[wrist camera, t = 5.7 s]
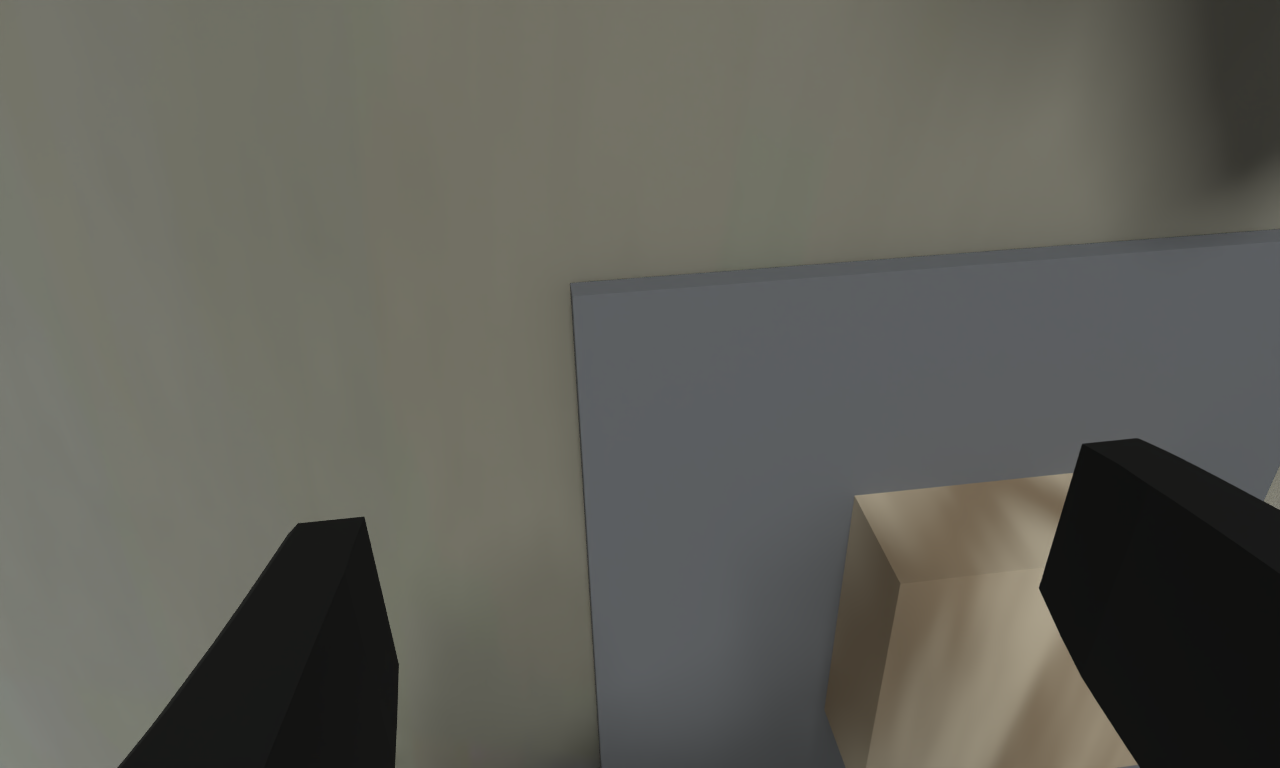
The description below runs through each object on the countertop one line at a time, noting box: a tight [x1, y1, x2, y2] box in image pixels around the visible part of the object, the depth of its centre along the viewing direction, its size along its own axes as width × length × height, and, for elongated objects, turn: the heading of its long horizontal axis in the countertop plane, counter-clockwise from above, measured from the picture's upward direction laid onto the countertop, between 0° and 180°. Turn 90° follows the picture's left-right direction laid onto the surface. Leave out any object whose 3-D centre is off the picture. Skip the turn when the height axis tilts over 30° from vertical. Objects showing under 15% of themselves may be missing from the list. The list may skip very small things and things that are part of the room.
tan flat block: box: [824, 473, 1138, 768], centre depth 24 cm, size 3×8×8 cm
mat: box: [570, 229, 1280, 768], centre depth 25 cm, size 18×20×1 cm
